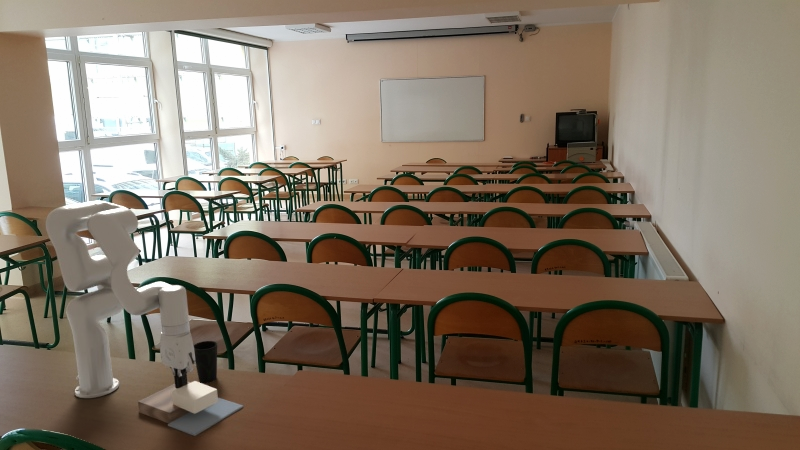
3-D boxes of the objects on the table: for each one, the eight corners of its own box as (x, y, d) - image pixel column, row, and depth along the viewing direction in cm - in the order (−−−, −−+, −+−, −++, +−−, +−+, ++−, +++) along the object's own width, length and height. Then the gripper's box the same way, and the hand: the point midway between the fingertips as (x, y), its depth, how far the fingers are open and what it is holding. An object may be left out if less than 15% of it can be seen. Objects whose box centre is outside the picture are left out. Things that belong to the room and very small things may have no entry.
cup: (212, 385, 187) (209, 350, 184) (191, 383, 188) (187, 349, 186) (224, 375, 194) (221, 341, 192) (203, 373, 196) (200, 340, 193)
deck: (139, 412, 170) (137, 401, 170) (183, 389, 184) (182, 379, 183) (170, 424, 164) (169, 412, 163) (214, 400, 177) (213, 389, 176)
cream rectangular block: (172, 404, 168) (171, 391, 167) (196, 393, 174) (195, 380, 173) (194, 413, 162) (193, 400, 161) (217, 401, 169) (217, 389, 168)
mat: (167, 425, 163) (167, 424, 163) (217, 398, 178) (217, 397, 178) (194, 436, 157) (194, 434, 157) (243, 407, 172) (243, 405, 172)
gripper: (147, 328, 168) (154, 386, 172) (182, 336, 161) (188, 397, 164) (169, 320, 175) (175, 376, 178) (203, 328, 167) (209, 387, 171)
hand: (181, 386), depth 171 cm, fingers closed
